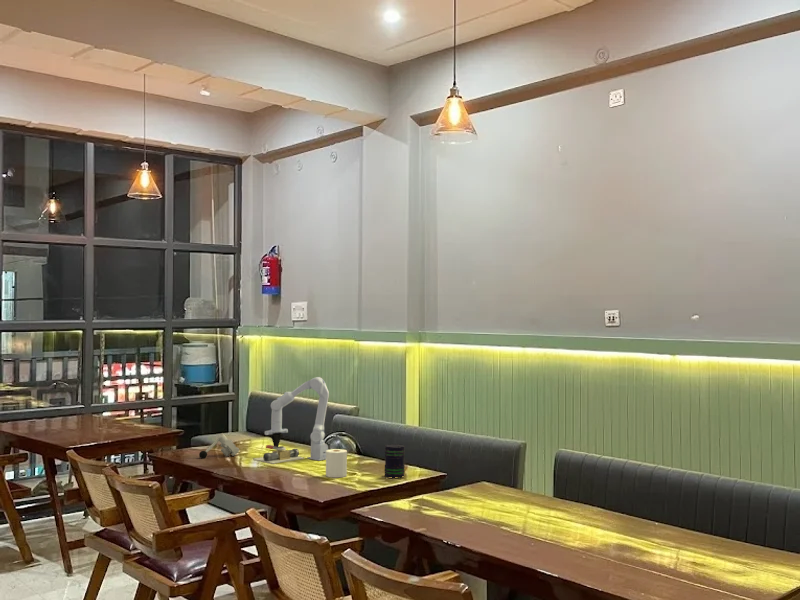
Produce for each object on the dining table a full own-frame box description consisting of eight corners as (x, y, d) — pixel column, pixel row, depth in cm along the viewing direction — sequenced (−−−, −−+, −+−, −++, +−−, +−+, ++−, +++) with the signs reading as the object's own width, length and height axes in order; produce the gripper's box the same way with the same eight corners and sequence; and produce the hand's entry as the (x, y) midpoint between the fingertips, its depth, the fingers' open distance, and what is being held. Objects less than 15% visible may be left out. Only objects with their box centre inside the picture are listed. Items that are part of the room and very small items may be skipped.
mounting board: (304, 458, 418) (304, 457, 418) (272, 463, 401) (272, 462, 401) (285, 454, 428) (285, 453, 428) (253, 459, 412) (253, 458, 412)
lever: (287, 450, 414) (287, 446, 414) (280, 451, 410) (280, 447, 410) (271, 447, 423) (271, 443, 423) (264, 448, 420) (264, 444, 420)
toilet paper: (350, 475, 375) (351, 450, 375) (337, 478, 366) (338, 453, 367) (334, 472, 381) (334, 448, 381) (321, 476, 372) (321, 450, 372)
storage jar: (380, 476, 374) (380, 445, 375) (395, 473, 381) (396, 443, 381) (393, 479, 367) (393, 447, 367) (408, 477, 373) (409, 446, 374)
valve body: (300, 458, 419) (300, 449, 419) (269, 462, 403) (269, 453, 404) (292, 456, 423) (292, 448, 423) (261, 461, 408) (262, 452, 408)
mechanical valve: (242, 451, 421) (225, 431, 417) (218, 475, 412) (201, 455, 408) (235, 450, 430) (218, 430, 425) (212, 473, 421) (194, 454, 416)
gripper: (282, 420, 429) (281, 444, 428) (261, 422, 418) (260, 447, 418) (290, 421, 424) (289, 446, 424) (269, 423, 413) (269, 449, 413)
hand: (276, 446), depth 420 cm, fingers closed
